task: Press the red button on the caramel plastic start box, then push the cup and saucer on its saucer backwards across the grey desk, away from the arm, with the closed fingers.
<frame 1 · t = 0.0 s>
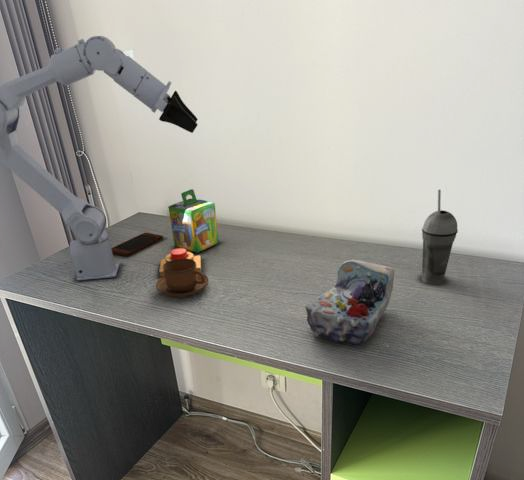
hand: (195, 125, 109), 32 cm above the table, tool tilted 50°, fingers open, 7 cm apart
smartphone: (136, 246, 139), on the table
cup and saucer: (183, 290, 114), on the table
beverage cup: (432, 280, 111), on the table
cell model: (350, 325, 97), on the table
start button: (178, 254, 122), point 4 cm above the table, slide at 0.1 cm
chalk box: (197, 246, 137), on the table
start box: (181, 268, 124), on the table
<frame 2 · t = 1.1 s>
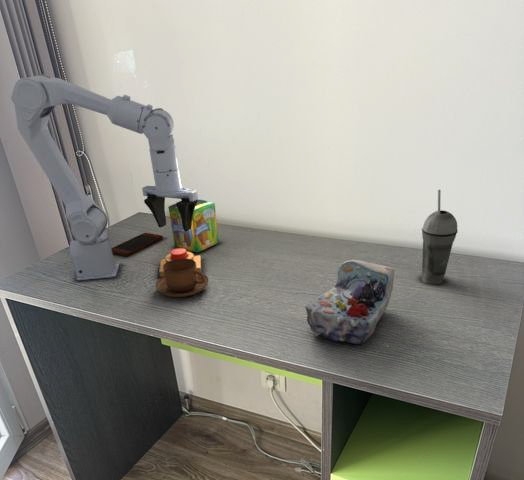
hand: (175, 228, 119), 10 cm above the table, tool pointing down, fingers open, 7 cm apart
nothing on the table moved.
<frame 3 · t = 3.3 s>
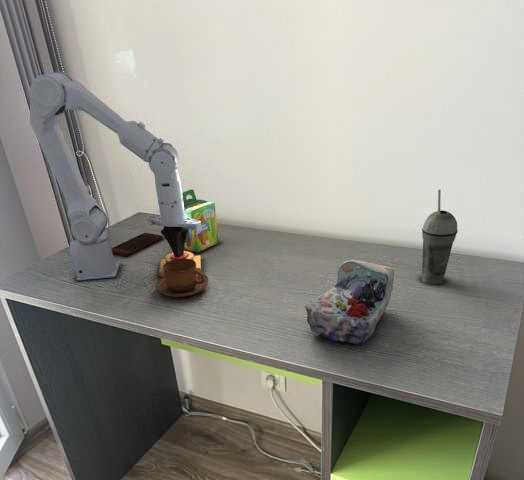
hand: (179, 255, 122), 3 cm above the table, tool pointing down, fingers closed, pressing on start button
start button: (179, 258, 123), point 3 cm above the table, slide at -1.0 cm, touching gripper
everything else where it was.
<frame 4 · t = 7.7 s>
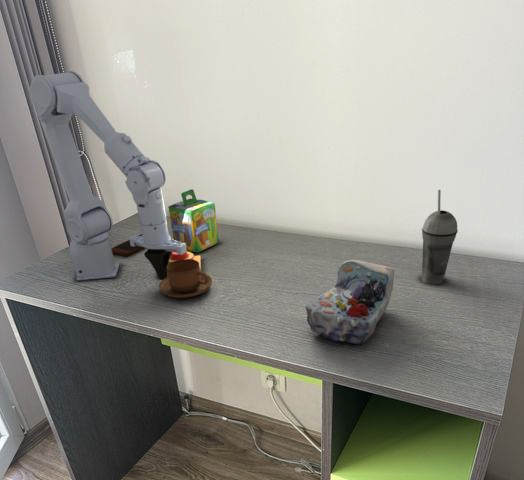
hand: (163, 278, 115), 2 cm above the table, tool pointing down, fingers closed, pressing on cup and saucer
cup and saucer: (186, 291, 114), on the table, touching gripper
start button: (178, 254, 122), point 4 cm above the table, slide at 0.1 cm
everything else where it was.
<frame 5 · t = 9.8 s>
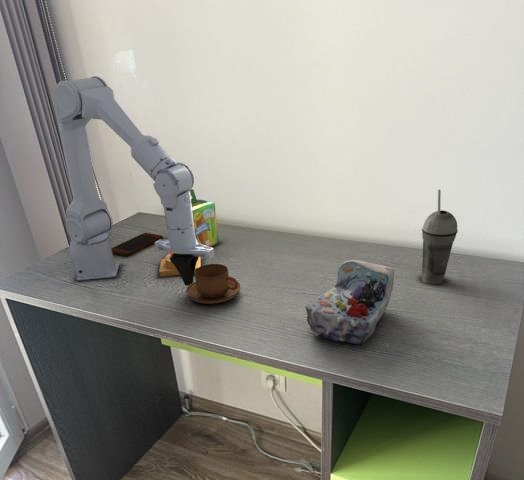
hand: (189, 283, 112), 2 cm above the table, tool pointing down, fingers closed
cup and saucer: (214, 296, 110), on the table, touching gripper
everything else where it was.
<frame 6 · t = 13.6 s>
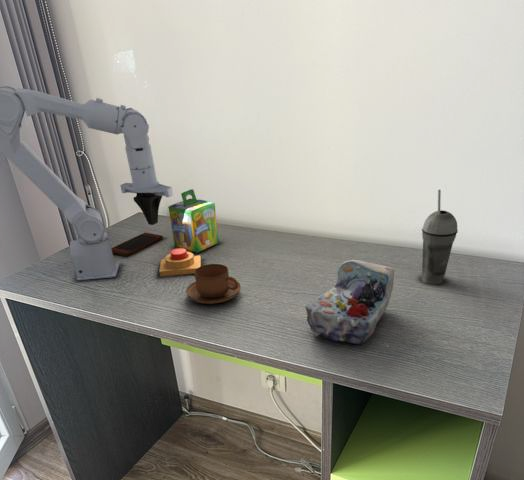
hand: (153, 223, 123), 10 cm above the table, tool pointing down, fingers closed
cup and saucer: (214, 296, 110), on the table
everything else where it was.
at the end: start button pushed in 1.2 cm at the most during the clip, back to where it started at the end; cup and saucer inside the target area (0.4 cm from its centre), on the table; cup and saucer tilted 0° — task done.
